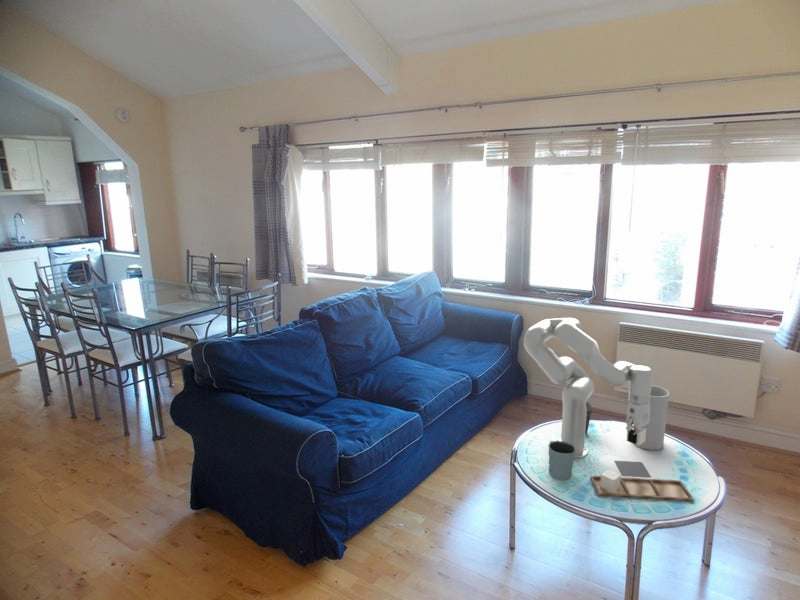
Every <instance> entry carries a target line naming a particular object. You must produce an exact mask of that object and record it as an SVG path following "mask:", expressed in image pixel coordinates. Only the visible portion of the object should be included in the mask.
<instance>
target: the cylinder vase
mask: <svg viewBox="0 0 800 600" xmlns="http://www.w3.org/2000/svg"><path fill="white" fill-rule="evenodd" d="M669 397H670V392H669V390H667V389H665V388H663V387H660V386H656V385H652V384H651V396H650V422H649V423H648V424H646V425H645V428H646V438H645V442H644V443H642V444H640V445H636V444H634V445H635V446H637V447H639V448H641V449H643V450H644V449H645V450H648V451H657V450H660V449H662V448H663V447H664V442H665V441H664V440H665V433H666V423H667V415H668V406H669Z"/></svg>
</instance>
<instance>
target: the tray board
mask: <svg viewBox="0 0 800 600" xmlns="http://www.w3.org/2000/svg"><path fill="white" fill-rule="evenodd" d="M589 479H590V481H591V483H592V486H593V488H594V491H595V493H596V496H597V497H601V498H602V497H605V498H620V499H621V498H622V499H636V500H638V499H640V500H652V501H653V500H655V501H657V500H658V501H671V502H672V501H673V502H689V503H694V502H695V498H694V497H693V496H692V494H691V493H690V491H689V490H688V489H687V487H686V486H685V484H684V483H683V482H682V480H679V479H678V480H677V479H676V480H675V479H674V480H672V479H660V478H658V479H655V478H654V479H653V478H643V477H624V476H621V479H620V488H619V489H618V490H617V491H615V492H614V493H611V492H609V491H607V490H605V489H603V488H601V487H600V483H601V475H590V477H589Z"/></svg>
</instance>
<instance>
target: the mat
mask: <svg viewBox="0 0 800 600" xmlns="http://www.w3.org/2000/svg"><path fill="white" fill-rule="evenodd" d="M613 462H614V463H615V466H616V468H617V470H618V471H619V473H620V475H621V477H631V478H649V479H653V478H652V476H651V474H650V473H649V471H648V469H647V467H646V465H644V463H643V462H642V461H632V460H629V461H626V460H614V461H613Z"/></svg>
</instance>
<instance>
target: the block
mask: <svg viewBox="0 0 800 600" xmlns="http://www.w3.org/2000/svg"><path fill="white" fill-rule="evenodd" d="M600 476H601V483H600V487H601V488H603V489H605V490H607V491H609V492H611V493H614V492H615V491H617V490H618V489H619V488H620V479H621V477H622V475H621V474H619V473H617V472H615V471H612V470H611V469H606V471H604V472H603V473H601V474H600Z"/></svg>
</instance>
